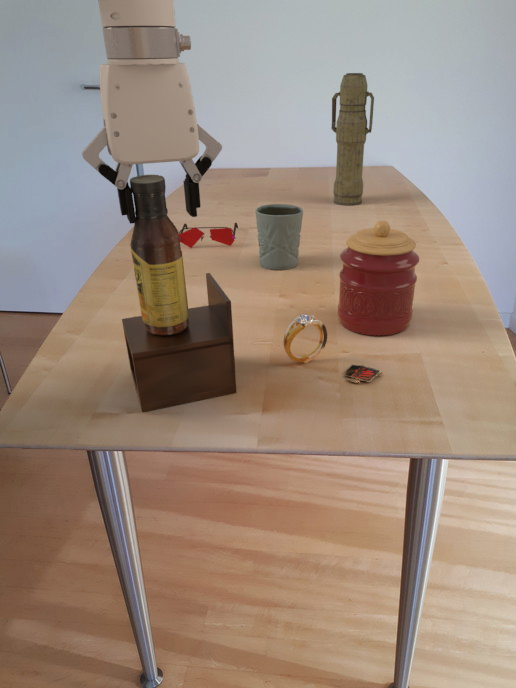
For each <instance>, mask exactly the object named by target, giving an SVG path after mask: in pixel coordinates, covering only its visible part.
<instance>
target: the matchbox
mask: <svg viewBox="0 0 516 688" xmlns="http://www.w3.org/2000/svg"><path fill="white" fill-rule="evenodd" d="M382 375H383V371H381V370H380V369H378V368H377V369H376V368H374V367H369V366H368V367H367V366H365V365H361V364H360V365H358V364H351V365H350V366H349V367H348V368H347V369H346V371H345V374H344V376H347V381H348V382H350V383H354V384H361V383H360V382H363V381H364V382H367V383H370V382H372V381H373V380H374V379H375V378H376V377H380V376H382ZM356 381H357V382H356ZM358 381H359V383H358Z"/></svg>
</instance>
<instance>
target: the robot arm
mask: <svg viewBox="0 0 516 688" xmlns="http://www.w3.org/2000/svg"><path fill="white" fill-rule="evenodd" d="M97 1H98V10H99V15H100V21H101V27H102V34H103V42H104V48H105V49H104V50H105V55H106V62H107V63H101V64H100V68H99V89H100V103H101V113H102V122H103V127H102V128H101V129H100V131H99V132H98V133H97V134H96V135H95V136H94V138H93V139H92V140H91V141H90V142H89V144H88V145H87V146H86V147H85V148H84V149H83V150H82V152H81V155H82V156H81V157H82V159H83V160H84V161H85V162H86V163H88V164H89V165H90V167H92V168H93V169H94V170H96V171H97V172H98V173H99V174H100V175H101V176H102V177H103V178H104V179H106V181H108V182H110V183H111V184H112V185H113V186H115V187H116V190H117V197H118V202H119V209H120V213H121V216H126V218H127V220H128V223H129V224H132V225H133V224H135V222H136V215H135V203H134V196H133V193H132V190H131V187H130V185H129V182H128V181H129V178H130V175H131V172H132V169H133V165H143V164H145V165H146V164H157V163H158V164H159V163H173V162H179V164H180V166H181V167H182V169H183V171H184V172H185V178H184V180H183V190H184V191H183V192H184V202H185V203H184V204H185V209H186V211H185V212H187V214H188V215H189V216H190V217H192V218H196V217H198V209H200V208H201V195H200V183H201V181H202V179H203V177H204V176H205V174H206V173H207V172H208V170H209V169H210V168H211V166H212V165H213V162H214V161H215V160H216V159H217V157H218V155H219V154H220V153H221V152H222V149H223V145H222V144H221V143H220V142H219V141H218V140H217V139H216V138H215V137H214V136H212V135H211V134H210V133H209V132H208V131H207V130H206V129H204V128H203V127H202V126H201V125H200V124H199V123H198V121H197V114H196V108H195V103H194V95H193V92H192V87H191V82H190V77H189V73H188V69H187V66H186V63H185V62H180V59H179V58H181V54H182V52H185V51H190V50H191V49H192V40H191V36H190V35H183V33H180V32H179V30H178V28H176V27H177V23H176V16H175V15H176V13H175V2H174V0H97ZM200 142H201V143H202V144H203V145H204V146H205V150H204V152H203V153H202V155H200V156H199V158H198V159H197V160H196V161H195V162H194V160H193V159H195V158H196V157H197V156H198V155H199V152H200ZM105 148H107V151H108V155H110V156H111V158H112V160H113V161H115V162H116V163H117V164H116V166H115V169H113V167H111V166H110V165H109V164H107V162H105V161H103V159H102V158H100V154H101V152H102V151H103V150H104V149H105Z"/></svg>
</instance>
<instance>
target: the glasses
mask: <svg viewBox="0 0 516 688" xmlns="http://www.w3.org/2000/svg"><path fill="white" fill-rule="evenodd" d="M200 229H209V234H210V235H209V238H210V239H211V241H214V242H216V243H220V244H223V245H227V246H229V247H231V246H232V245H233V243H234V242H235V239H236V231H237V229H239V225H238V222H234V224H233V229H232V227H227V226H202V227H196V226H194V227H189V226H188V224H187V223H184V224H183V226H182V228H181V229H180V230H179V231H178V233H179V237H180V244H183V245H185V246H186V247H188V248H191V249H192V248H193V247H194V246H195V245H196V244H197V242H198V241H203V239H204V237H205V232H204V231H202V230H200Z"/></svg>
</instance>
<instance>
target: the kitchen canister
mask: <svg viewBox="0 0 516 688" xmlns="http://www.w3.org/2000/svg"><path fill="white" fill-rule="evenodd" d="M345 244H346V246H347V247H346V248H345V249H343V250H341V253H340V254H339V256H340V260H341V262H342V268H341V270H340V271H339V275H338V276H339V293H338V294H339V296H338V304H337V315H338V321H339V324H340V325H342V327H344V328H346V329H347V330H349V331H351V332H354V333H357V334H361V335H365V336H375V337H376V335H377V336H380V335H382V336H390V335H396V334H399V333H401V332H404V331H405V330H406V329H407V328H408V327H409V326H410V324H411V321H412V319H413V313H414V309H413V306H414V305H413V304H414V297H415V290H416V283H417V281H418V275H417V273H416V266H417V265H418V264H419V262H420V256H419V254H418V253H417V252H416V251H415V248H416V246H417V242H416V241H415V240H414V239H413V238H411V237H409V235H408V234H406V232H404V231H401V230H398V229H394V228H391V225H390V224H389V222H388V221H386V220H378V221H377V222H376V223H375V224H374V226H373V227H369V228H363V229H361V230H358V231H357V232H355V233H354V234H353V235H350V236H349V237H347V238H346V241H345ZM398 332H399V333H398ZM395 333H396V334H395ZM380 337H381V336H380Z"/></svg>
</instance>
